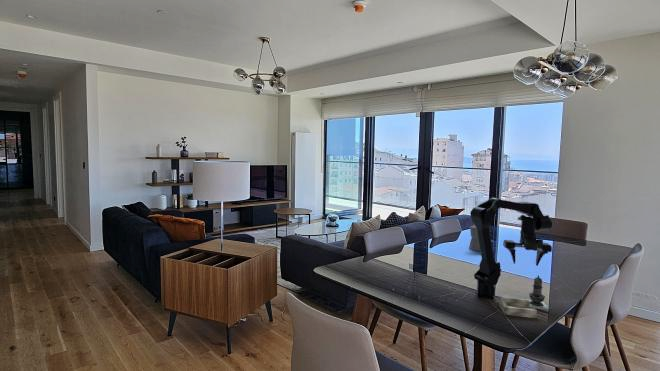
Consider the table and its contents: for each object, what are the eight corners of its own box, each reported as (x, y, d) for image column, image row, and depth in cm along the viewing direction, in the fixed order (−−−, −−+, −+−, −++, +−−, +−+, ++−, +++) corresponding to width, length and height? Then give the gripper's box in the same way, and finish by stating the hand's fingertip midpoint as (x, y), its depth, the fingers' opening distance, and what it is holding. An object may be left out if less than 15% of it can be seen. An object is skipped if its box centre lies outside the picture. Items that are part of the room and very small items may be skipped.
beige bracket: (504, 314, 144) (504, 306, 144) (498, 303, 155) (498, 296, 155) (536, 318, 142) (537, 310, 141) (528, 306, 153) (528, 299, 152)
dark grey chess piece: (539, 301, 157) (541, 273, 156) (547, 306, 152) (549, 278, 151) (525, 301, 157) (527, 273, 156) (533, 306, 151) (535, 277, 150)
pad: (529, 307, 152) (529, 306, 152) (525, 301, 159) (525, 299, 159) (548, 309, 150) (548, 308, 150) (543, 303, 157) (543, 301, 157)
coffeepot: (475, 252, 240) (476, 224, 238) (463, 248, 248) (465, 221, 247) (491, 249, 247) (493, 223, 245) (479, 246, 255) (481, 220, 254)
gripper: (509, 232, 161) (506, 267, 162) (557, 235, 156) (554, 272, 158) (504, 227, 172) (501, 260, 173) (548, 230, 167) (546, 264, 169)
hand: (525, 264), depth 168 cm, fingers open, 9 cm apart
